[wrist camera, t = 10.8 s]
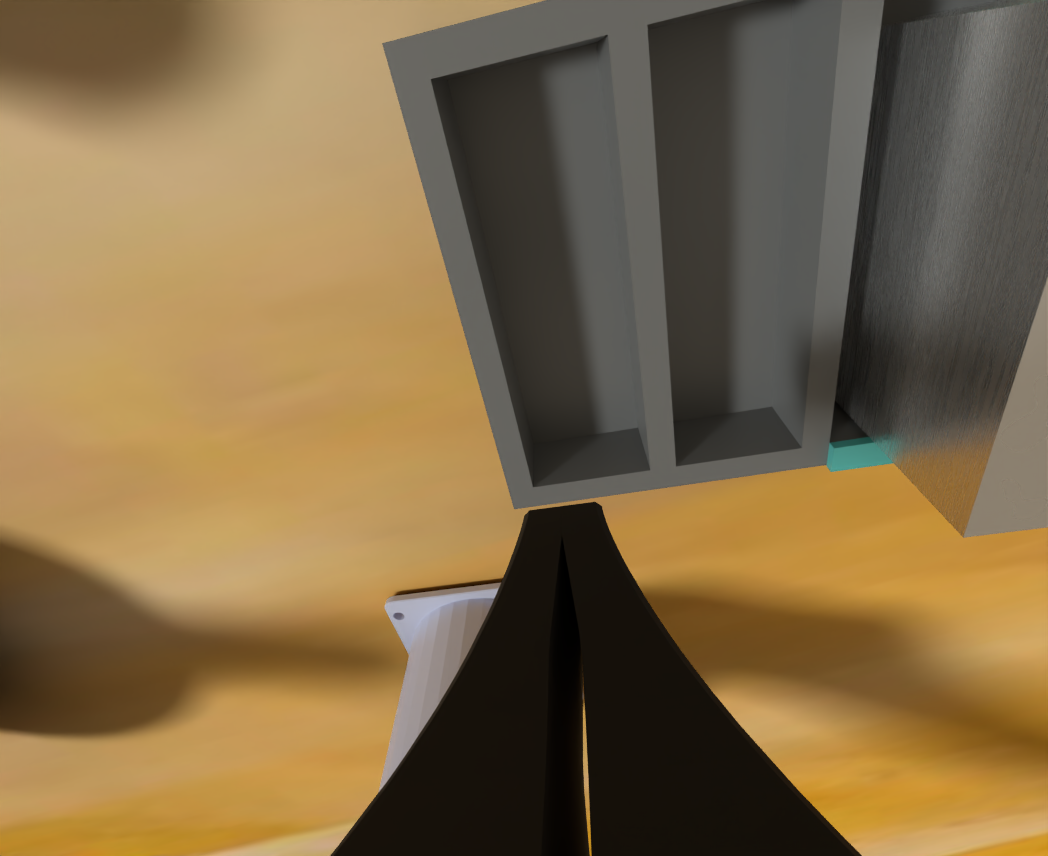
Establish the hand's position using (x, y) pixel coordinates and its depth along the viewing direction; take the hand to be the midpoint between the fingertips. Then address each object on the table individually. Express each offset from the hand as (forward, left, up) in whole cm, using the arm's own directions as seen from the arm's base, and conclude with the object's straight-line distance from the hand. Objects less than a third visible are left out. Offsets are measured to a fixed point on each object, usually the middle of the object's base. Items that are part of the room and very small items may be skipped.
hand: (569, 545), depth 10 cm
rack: (+2, -5, -9) cm, 11 cm away
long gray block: (+2, -10, -9) cm, 13 cm away
